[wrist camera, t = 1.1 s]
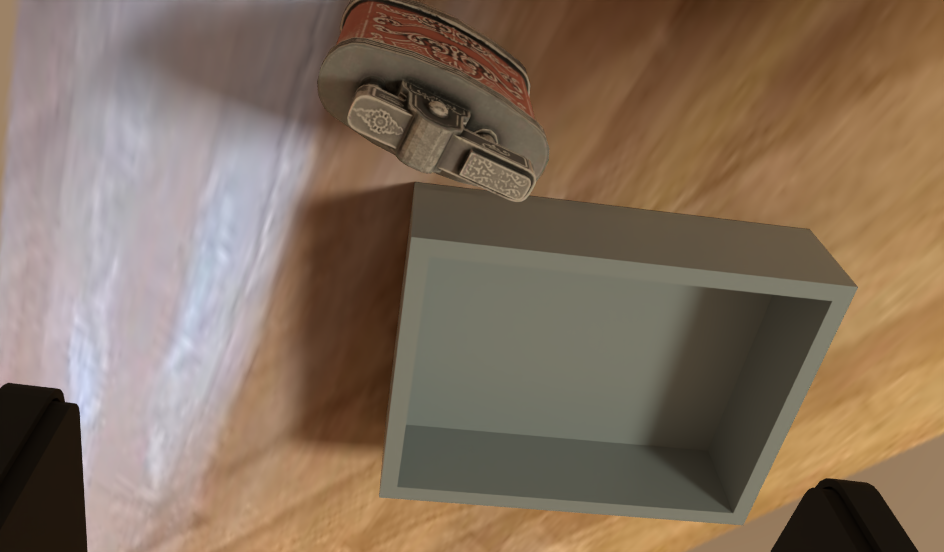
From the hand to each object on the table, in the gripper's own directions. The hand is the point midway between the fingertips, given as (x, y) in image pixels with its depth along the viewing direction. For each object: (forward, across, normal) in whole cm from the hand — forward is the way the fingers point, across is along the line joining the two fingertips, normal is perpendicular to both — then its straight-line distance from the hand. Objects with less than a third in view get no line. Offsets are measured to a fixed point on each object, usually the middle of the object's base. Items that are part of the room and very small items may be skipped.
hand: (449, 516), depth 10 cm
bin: (+25, -10, +13) cm, 30 cm away
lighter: (+25, -1, +1) cm, 25 cm away
